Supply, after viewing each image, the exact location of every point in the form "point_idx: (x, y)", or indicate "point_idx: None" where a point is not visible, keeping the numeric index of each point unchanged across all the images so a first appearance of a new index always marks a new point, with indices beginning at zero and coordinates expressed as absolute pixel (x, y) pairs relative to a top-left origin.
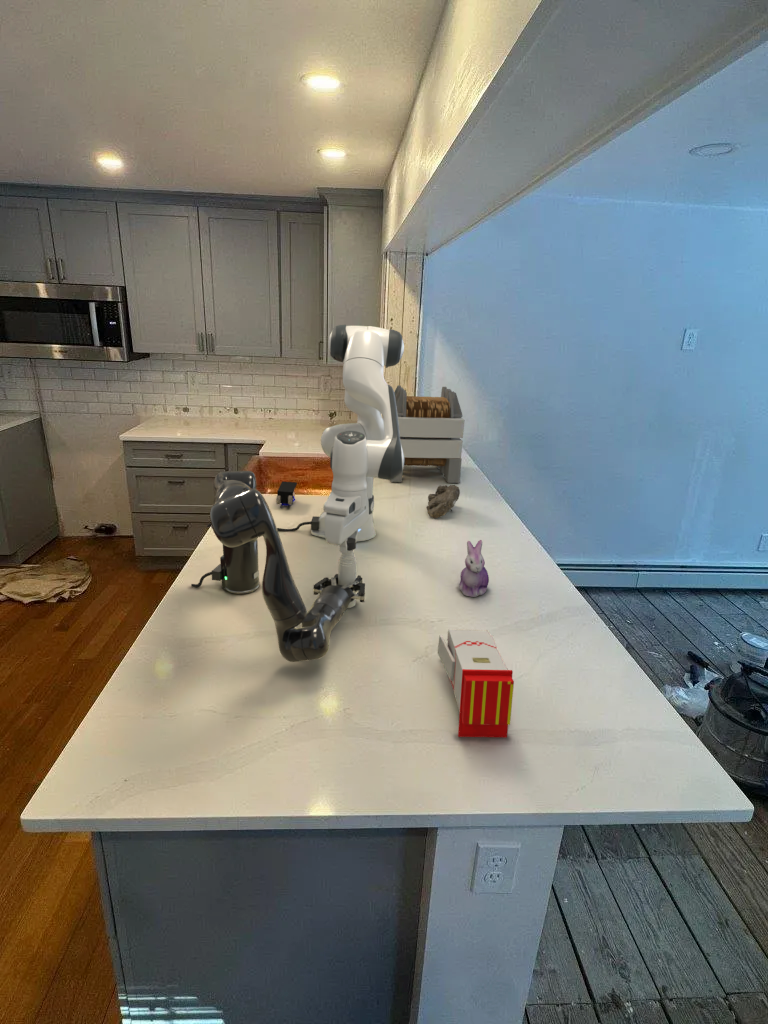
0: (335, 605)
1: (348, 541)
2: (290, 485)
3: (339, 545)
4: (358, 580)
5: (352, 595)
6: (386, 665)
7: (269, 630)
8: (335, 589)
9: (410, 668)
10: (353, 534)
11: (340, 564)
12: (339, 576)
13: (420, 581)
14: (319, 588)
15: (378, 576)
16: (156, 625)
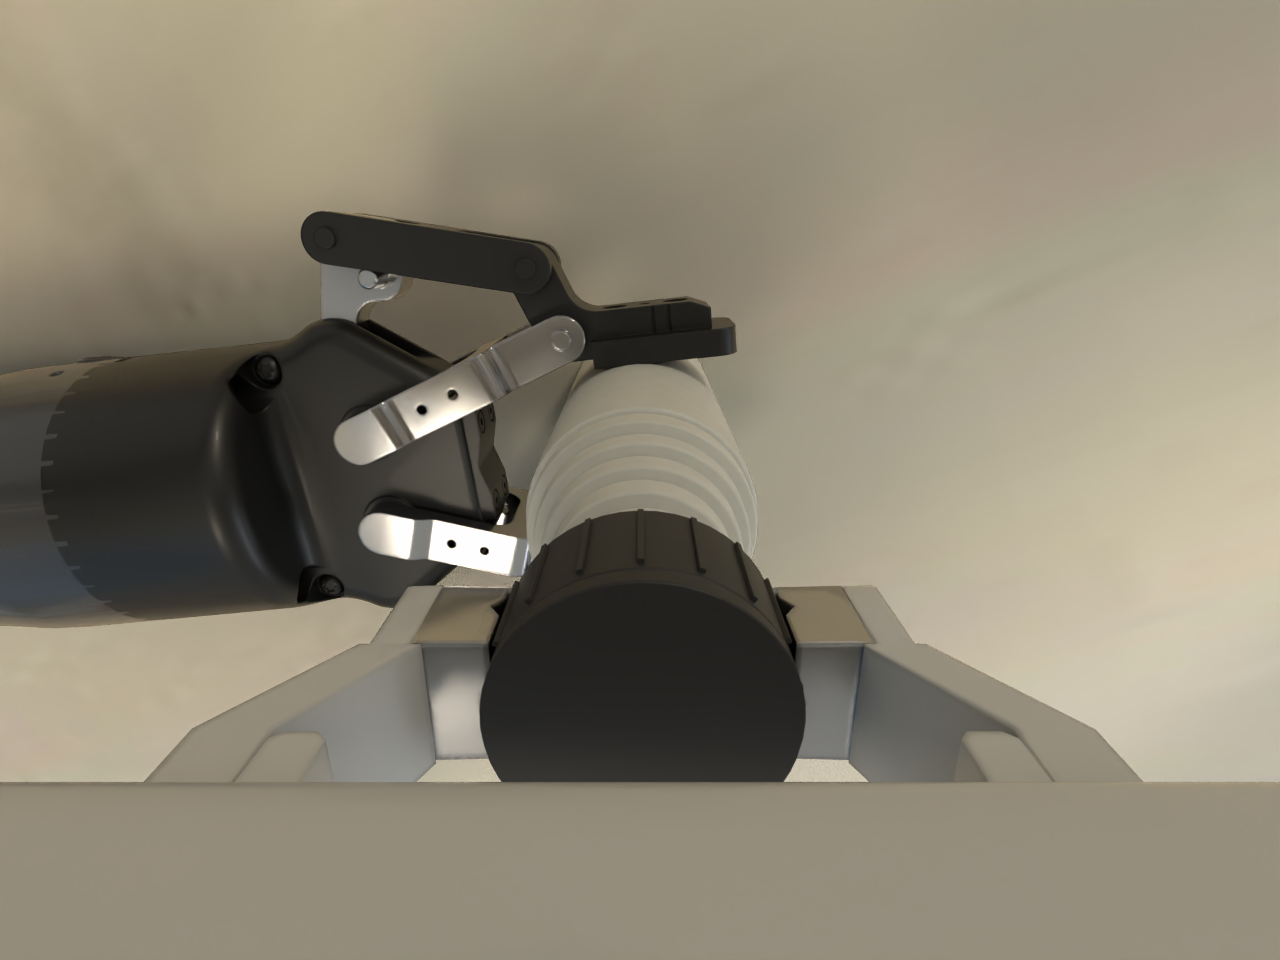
0: (6, 623)
1: (589, 751)
2: None
3: (338, 659)
4: None
5: (377, 604)
6: None
7: (14, 18)
8: (154, 561)
9: None
10: (920, 766)
11: (539, 469)
12: (563, 411)
13: (1111, 708)
14: (353, 276)
15: (1133, 443)
16: None
